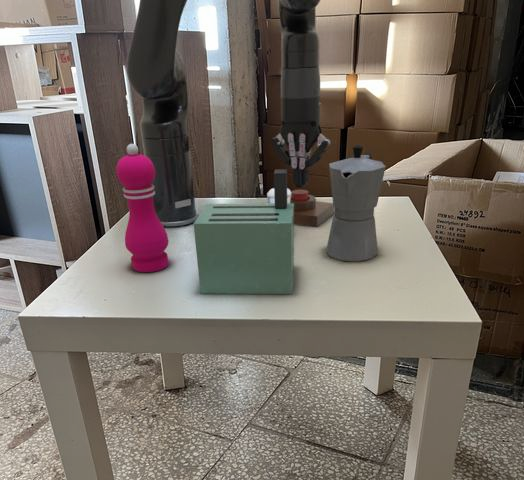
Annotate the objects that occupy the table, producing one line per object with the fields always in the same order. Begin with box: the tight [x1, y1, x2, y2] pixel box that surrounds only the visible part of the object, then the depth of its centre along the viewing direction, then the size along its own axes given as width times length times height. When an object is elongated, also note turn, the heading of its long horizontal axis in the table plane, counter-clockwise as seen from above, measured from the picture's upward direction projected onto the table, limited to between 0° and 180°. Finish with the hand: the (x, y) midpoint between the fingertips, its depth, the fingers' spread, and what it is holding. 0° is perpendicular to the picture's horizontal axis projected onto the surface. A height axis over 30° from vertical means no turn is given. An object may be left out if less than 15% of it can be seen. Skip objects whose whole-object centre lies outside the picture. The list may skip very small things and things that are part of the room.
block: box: [291, 194, 335, 228], centre depth 110 cm, size 12×10×4 cm
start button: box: [291, 189, 310, 201], centre depth 109 cm, size 4×4×2 cm
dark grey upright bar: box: [273, 168, 288, 208], centre depth 78 cm, size 2×2×5 cm
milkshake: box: [266, 187, 292, 203], centre depth 99 cm, size 4×5×10 cm
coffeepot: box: [326, 144, 387, 263], centre depth 88 cm, size 15×9×18 cm, turn 157°
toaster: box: [192, 202, 295, 295], centre depth 80 cm, size 14×10×11 cm
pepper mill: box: [115, 143, 170, 273], centre depth 85 cm, size 7×7×20 cm
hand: (300, 186), depth 108 cm, fingers closed
